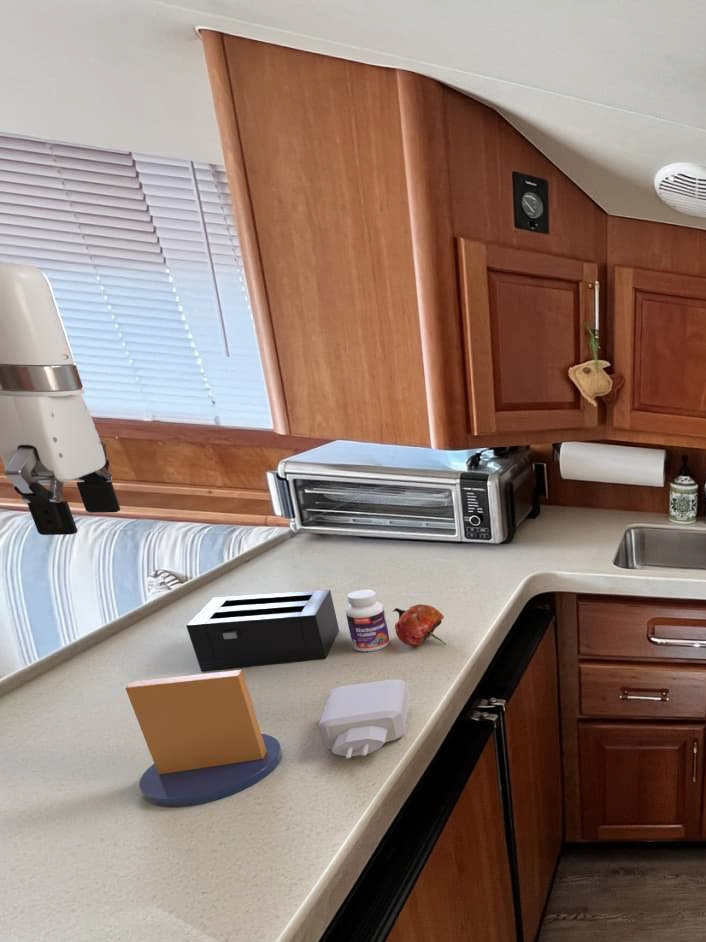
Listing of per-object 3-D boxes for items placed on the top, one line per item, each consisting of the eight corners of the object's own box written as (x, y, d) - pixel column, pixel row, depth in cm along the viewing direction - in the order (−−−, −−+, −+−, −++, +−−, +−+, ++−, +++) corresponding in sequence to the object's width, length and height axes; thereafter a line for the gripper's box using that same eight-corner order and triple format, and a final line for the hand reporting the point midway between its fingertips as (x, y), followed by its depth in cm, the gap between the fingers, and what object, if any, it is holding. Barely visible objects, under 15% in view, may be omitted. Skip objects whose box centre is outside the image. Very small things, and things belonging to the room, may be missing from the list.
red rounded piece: (452, 644, 117) (407, 609, 115) (467, 622, 113) (421, 585, 112) (422, 666, 110) (374, 629, 109) (437, 643, 107) (387, 604, 105)
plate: (119, 817, 70) (116, 809, 70) (169, 750, 81) (166, 742, 81) (265, 793, 76) (262, 785, 75) (294, 732, 86) (292, 725, 86)
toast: (158, 774, 75) (124, 688, 71) (164, 766, 77) (131, 681, 72) (263, 759, 79) (238, 675, 75) (267, 751, 81) (242, 669, 76)
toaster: (199, 674, 97) (183, 627, 94) (226, 640, 107) (213, 597, 104) (324, 661, 104) (314, 617, 101) (339, 630, 114) (330, 589, 111)
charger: (315, 780, 78) (336, 716, 91) (402, 764, 82) (410, 705, 94) (306, 748, 76) (329, 687, 89) (395, 734, 80) (405, 677, 93)
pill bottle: (358, 655, 106) (347, 602, 103) (349, 644, 110) (337, 592, 106) (394, 646, 110) (385, 595, 106) (384, 635, 113) (374, 585, 110)
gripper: (35, 370, 79) (81, 504, 85) (-73, 384, 64) (-8, 544, 71) (116, 375, 82) (154, 504, 88) (29, 389, 67) (83, 543, 74)
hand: (82, 522), depth 79 cm, fingers open, 9 cm apart
